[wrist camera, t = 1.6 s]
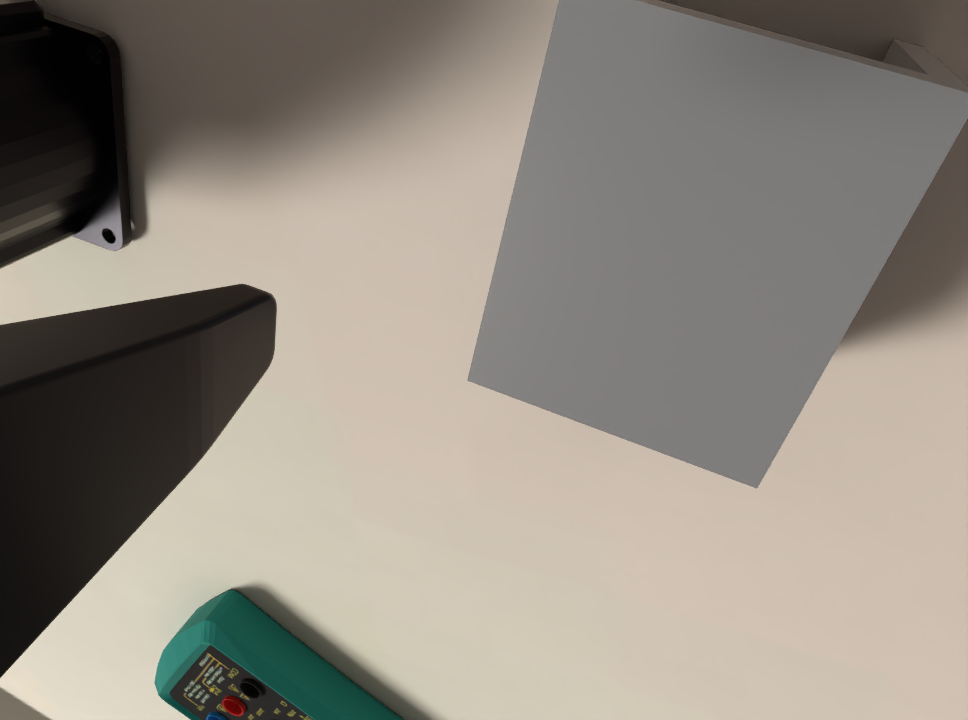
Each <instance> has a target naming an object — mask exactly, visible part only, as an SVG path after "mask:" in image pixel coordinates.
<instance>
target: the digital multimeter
mask: <svg viewBox="0 0 968 720" xmlns="http://www.w3.org/2000/svg"><path fill="white" fill-rule="evenodd" d="M155 686H156V689H157V692H158V695H159V696H160V697H161V699H163V700H164V701H165V702H166V703H168V704H169V705H171V706H172V707H174V708H175V709H176V710H178V711H179V712H181V713H182V714H184V715H185V716H186V717H188V718H189V719H191V720H404V719H402V718H401V717H400V716H398V715H397V714H396V713H394V712H393V711H392V710H390V709H389V708H388V707H386V706H385V705H384V704H382V703H381V702H379V701H378V700H377V699H375V698H374V697H373V696H371V695H370V694H369V693H367V692H366V691H365V690H363V689H362V688H361V687H359V686H358V685H357V684H355V683H354V682H352V681H351V680H350V679H348V678H347V677H346V676H345V675H343V674H342V673H341V672H339V671H338V670H337V669H336V668H334V667H333V666H332V665H331V664H329V663H328V662H327V661H325V660H324V659H323V658H322V657H320V656H319V655H318V654H317V653H315V652H314V651H313V650H311V649H310V648H309V647H308V646H306V645H305V644H304V643H302V642H301V641H300V640H298V639H297V638H296V637H295V636H293V635H292V634H291V633H289V632H288V631H287V630H286V629H284V628H283V627H282V626H281V625H279V624H278V623H277V622H276V621H274V620H273V619H272V618H271V617H270V616H268V615H267V614H266V613H265V612H263V611H262V610H261V609H260V608H258V607H257V606H256V605H255V604H254V603H252V602H251V601H250V600H248V599H247V598H246V597H245V596H243V595H242V594H241V593H239V592H237V591H234V590H228V591H226V592H224V593H223V594H221V595H219V596H217V597H215V598H213V599H211V600H210V601H208V602H207V603H205V604H204V605H203V606H201V607H200V608H198V609H197V610H196V611H195V612H194V614H193V615H192V616H191V617H190V618H189V620H188V621H187V622H186V623H185V624H184V626H183V627H182V628H181V629H180V630H179V632H178V633H177V634H176V635H175V636H174V638H173V639H172V640H171V641H170V643H169V644H168V645H167V646H166V648H165V649H164V650H163V652H162V655H161V658H160V661H159V663H158V667H157V672H156V677H155Z"/></svg>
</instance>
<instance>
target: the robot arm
mask: <svg viewBox="0 0 968 720" xmlns="http://www.w3.org/2000/svg"><path fill="white" fill-rule="evenodd" d="M97 46H98V48H99V49H100V51H101V54H102V58H101V57H100V56H99V54H98V52H97ZM112 232H113V233H114V234H115V236H114V235H113V233H112ZM71 236H73V237H76V238H79V239H81V240H84V241H87V242H89V243H92V244H95V245H97V246H100V247H103V248H105V249H108V250H112V251H117V250H120V249H122V248H124V247H125V246H127V245H129V243H130V242H131V237H132V236H131V220H130V204H129V188H128V172H127V156H126V141H125V125H124V109H123V93H122V77H121V61H120V53H119V49H118V47H117V45H116V43H115V41H114V40H113V39H112V38H111V37H110V36H109V35H107V34H106V33H104V32H101V31H98V30H95V29H92V28H89V27H86V26H82V25H79V24H76V23H73V22H70V21H67V20H64V19H61V18H58V17H54V16H51V15H48V14H45V13H43V8H42V7H41V6H40V5H39V4H38V3H36V2H35V1H34V0H0V269H1V268H3V267H5V266H7V265H9V264H12V263H14V262H16V261H18V260H20V259H23V258H25V257H27V256H29V255H31V254H33V253H36V252H38V251H40V250H42V249H44V248H47V247H49V246H51V245H53V244H55V243H58V242H60V241H62V240H64V239H66V238H68V237H71ZM276 312H277V305H276V300H275V298H274V297H273V295H272V294H270V293H268V292H265V291H263V290H260V289H257V288H255V287H252V286H249V285H246V284H238V285H232V286H226V287H220V288H214V289H209V290H203V291H197V292H191V293H185V294H179V295H174V296H168V297H162V298H156V299H150V300H144V301H138V302H133V303H127V304H121V305H115V306H109V307H103V308H97V309H92V310H86V311H80V312H74V313H68V314H62V315H56V316H51V317H45V318H39V319H33V320H27V321H21V322H15V323H10V324H4V325H0V678H1V677H2V676H3V674H4V673H5V672H6V671H7V670H8V669H9V668H10V667H11V666H12V665H13V664H14V662H15V661H16V660H17V659H18V658H19V657H20V656H21V655H22V654H23V653H24V652H25V651H26V649H27V648H28V647H29V646H30V645H31V644H32V643H33V642H34V641H35V640H36V639H37V637H38V636H39V635H40V634H41V633H42V632H43V631H44V630H45V629H46V628H47V627H48V626H49V624H50V623H51V622H52V621H53V620H54V619H55V618H56V617H57V616H58V615H59V614H60V612H61V611H62V610H63V609H64V608H65V607H66V606H67V605H68V604H69V603H70V602H71V601H72V599H73V598H74V597H75V596H76V595H77V594H78V593H79V592H80V591H81V590H82V589H83V588H84V586H85V585H86V584H87V583H88V582H89V581H90V580H91V579H92V578H93V577H94V576H95V574H96V573H97V572H98V571H99V570H100V569H101V568H102V567H103V566H104V565H105V564H106V563H107V561H108V560H109V559H110V558H111V557H112V556H113V555H114V554H115V553H116V552H117V551H118V549H119V548H120V547H121V546H122V545H123V544H124V543H125V542H126V541H127V540H128V539H129V538H130V536H131V535H132V534H133V533H134V532H135V531H136V530H137V529H138V528H139V527H140V526H141V524H142V523H143V522H144V521H145V520H146V519H147V518H148V517H149V516H150V515H151V514H152V513H153V511H154V510H155V509H156V508H157V507H158V506H159V505H160V504H161V503H162V502H163V501H164V500H165V498H166V497H167V496H168V495H169V494H170V493H171V492H172V491H173V490H174V489H175V488H176V486H177V485H178V484H179V483H180V482H181V481H182V480H183V479H184V478H185V477H186V476H187V475H188V473H189V472H190V471H191V470H192V469H193V468H194V467H195V465H196V464H197V463H198V462H199V461H200V460H201V459H202V458H203V456H204V455H205V454H206V452H207V451H208V450H209V449H210V447H211V446H212V445H213V443H214V442H215V441H216V439H217V438H218V437H219V435H220V434H221V432H222V431H223V430H224V428H225V427H226V426H227V424H228V423H229V421H230V420H231V419H232V417H233V416H234V415H235V413H236V412H237V411H238V409H239V408H240V406H241V405H242V404H243V402H244V401H245V400H246V398H247V397H248V395H249V394H250V393H251V391H252V390H253V389H254V387H255V386H256V384H257V383H258V382H259V380H260V379H261V378H262V376H263V375H264V373H265V372H266V371H267V369H268V368H269V366H270V364H271V361H272V359H273V355H274V350H275V332H276Z"/></svg>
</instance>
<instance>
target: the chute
mask: <svg viewBox="0 0 968 720" xmlns="http://www.w3.org/2000/svg"><path fill="white" fill-rule="evenodd" d="M967 119H968V85H967V84H966V83H965V82H963V81H962V80H961V79H960V78H959V77H958V76H956V75H955V74H954V73H953V72H952V71H951V70H950V69H948V68H947V67H946V66H945V65H944V64H943V63H941V62H940V61H939V60H938V59H937V58H936V57H935V56H933V55H932V54H931V53H930V52H929V51H928V50H926V49H925V48H924V47H921V46H917V45H914V44H910V43H906V42H903V41H899V40H895V39H893V41H892V43H891V45H890V47H889V49H888V51H887V53H886V55H885V57H884V60H883V62H880V61H876V60H873V59H869V58H866V57H862V56H858V55H855V54H851V53H848V52H844V51H840V50H837V49H833V48H829V47H826V46H822V45H819V44H815V43H811V42H808V41H804V40H801V39H797V38H793V37H790V36H786V35H782V34H779V33H775V32H772V31H768V30H764V29H761V28H757V27H754V26H750V25H746V24H743V23H739V22H735V21H732V20H728V19H725V18H721V17H717V16H714V15H710V14H707V13H703V12H699V11H696V10H692V9H689V8H685V7H681V6H678V5H674V4H670V3H667V2H663V1H660V0H559V4H558V8H557V12H556V16H555V20H554V24H553V28H552V33H551V37H550V41H549V45H548V49H547V53H546V57H545V61H544V66H543V70H542V74H541V78H540V82H539V86H538V90H537V95H536V99H535V103H534V107H533V111H532V115H531V119H530V123H529V128H528V132H527V136H526V140H525V144H524V148H523V152H522V157H521V161H520V165H519V169H518V173H517V177H516V181H515V186H514V190H513V194H512V198H511V202H510V206H509V210H508V214H507V219H506V223H505V227H504V231H503V235H502V239H501V243H500V248H499V252H498V256H497V260H496V264H495V268H494V272H493V276H492V281H491V285H490V289H489V293H488V297H487V301H486V305H485V310H484V314H483V318H482V322H481V326H480V330H479V334H478V339H477V343H476V347H475V351H474V355H473V359H472V363H471V367H470V372H469V376H468V380H467V381H470V382H473V383H475V384H478V385H481V386H483V387H486V388H489V389H491V390H494V391H497V392H499V393H502V394H505V395H508V396H510V397H513V398H516V399H518V400H521V401H524V402H526V403H529V404H532V405H534V406H537V407H540V408H542V409H545V410H548V411H550V412H553V413H556V414H559V415H561V416H564V417H567V418H569V419H572V420H575V421H577V422H580V423H583V424H585V425H588V426H591V427H593V428H596V429H599V430H601V431H604V432H607V433H609V434H612V435H615V436H618V437H620V438H623V439H626V440H628V441H631V442H634V443H636V444H639V445H642V446H644V447H647V448H650V449H652V450H655V451H658V452H660V453H663V454H666V455H668V456H671V457H674V458H677V459H679V460H682V461H685V462H687V463H690V464H693V465H695V466H698V467H701V468H703V469H706V470H709V471H711V472H714V473H717V474H719V475H722V476H725V477H727V478H730V479H733V480H736V481H738V482H741V483H744V484H746V485H749V486H752V487H754V488H758V486H759V484H760V482H761V481H762V479H763V477H764V475H765V474H766V472H767V470H768V468H769V467H770V465H771V463H772V461H773V460H774V458H775V456H776V454H777V453H778V451H779V449H780V447H781V446H782V444H783V442H784V440H785V438H786V437H787V435H788V433H789V431H790V430H791V428H792V426H793V424H794V423H795V421H796V419H797V417H798V416H799V414H800V412H801V410H802V409H803V407H804V405H805V403H806V402H807V400H808V398H809V396H810V395H811V393H812V391H813V389H814V388H815V386H816V384H817V382H818V380H819V379H820V377H821V375H822V373H823V372H824V370H825V368H826V366H827V365H828V363H829V361H830V359H831V358H832V356H833V354H834V352H835V351H836V349H837V347H838V345H839V344H840V342H841V340H842V338H843V337H844V335H845V333H846V331H847V330H848V328H849V326H850V324H851V323H852V321H853V319H854V317H855V315H856V314H857V312H858V310H859V308H860V307H861V305H862V303H863V301H864V300H865V298H866V296H867V294H868V293H869V291H870V289H871V287H872V286H873V284H874V282H875V280H876V279H877V277H878V275H879V273H880V272H881V270H882V268H883V266H884V265H885V263H886V261H887V259H888V257H889V256H890V254H891V252H892V250H893V249H894V247H895V245H896V243H897V242H898V240H899V238H900V236H901V235H902V233H903V231H904V229H905V228H906V226H907V224H908V222H909V221H910V219H911V217H912V215H913V214H914V212H915V210H916V208H917V207H918V205H919V203H920V201H921V199H922V198H923V196H924V194H925V192H926V191H927V189H928V187H929V185H930V184H931V182H932V180H933V178H934V177H935V175H936V173H937V171H938V170H939V168H940V166H941V164H942V163H943V161H944V159H945V157H946V156H947V154H948V152H949V150H950V149H951V147H952V145H953V143H954V142H955V140H956V138H957V136H958V134H959V133H960V131H961V129H962V127H963V126H964V124H965V122H966V120H967Z"/></svg>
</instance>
